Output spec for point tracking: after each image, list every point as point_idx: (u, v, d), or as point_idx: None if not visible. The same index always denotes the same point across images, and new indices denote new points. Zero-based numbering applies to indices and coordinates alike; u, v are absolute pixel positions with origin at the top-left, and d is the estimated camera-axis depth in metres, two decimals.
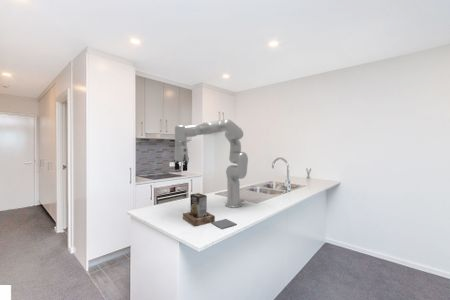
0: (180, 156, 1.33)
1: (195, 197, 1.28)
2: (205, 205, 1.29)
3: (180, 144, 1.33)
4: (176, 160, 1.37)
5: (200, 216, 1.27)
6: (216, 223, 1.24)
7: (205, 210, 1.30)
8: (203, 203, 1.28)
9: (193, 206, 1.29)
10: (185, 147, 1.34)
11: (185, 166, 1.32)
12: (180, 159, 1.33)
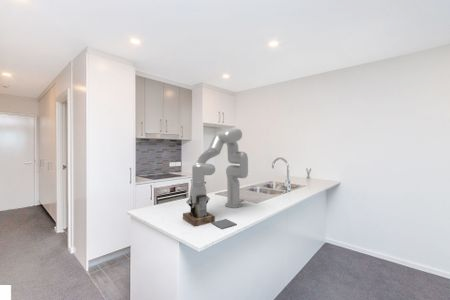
0: None
1: None
2: (205, 205, 1.29)
3: (204, 184, 1.31)
4: None
5: (200, 216, 1.27)
6: (216, 223, 1.24)
7: (205, 210, 1.30)
8: (203, 203, 1.28)
9: None
10: None
11: None
12: None
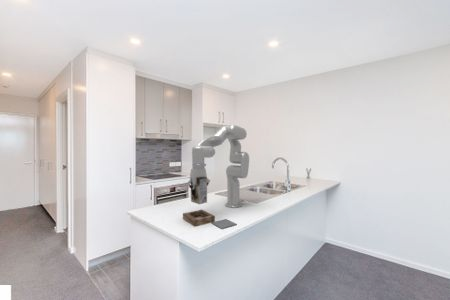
0: None
1: None
2: (205, 187, 1.30)
3: (204, 166, 1.31)
4: None
5: (201, 197, 1.27)
6: (216, 223, 1.24)
7: (206, 192, 1.30)
8: (203, 185, 1.28)
9: (194, 188, 1.29)
10: None
11: None
12: None
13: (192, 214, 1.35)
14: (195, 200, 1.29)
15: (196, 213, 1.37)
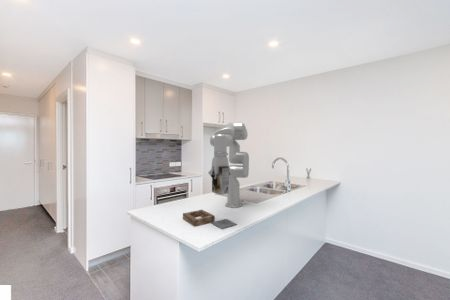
0: None
1: None
2: (228, 176, 1.23)
3: (226, 155, 1.25)
4: None
5: (223, 187, 1.20)
6: (216, 223, 1.24)
7: (228, 182, 1.23)
8: (225, 174, 1.22)
9: None
10: None
11: None
12: None
13: (192, 214, 1.35)
14: (216, 191, 1.23)
15: (196, 213, 1.37)
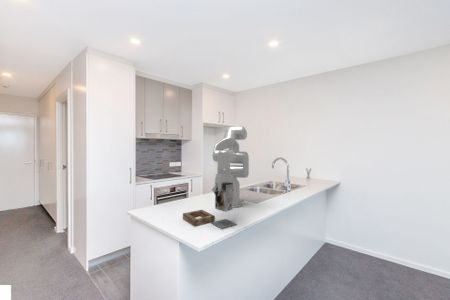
0: None
1: None
2: (231, 193, 1.22)
3: (229, 171, 1.24)
4: None
5: (226, 205, 1.20)
6: (216, 223, 1.24)
7: (231, 199, 1.22)
8: (229, 191, 1.21)
9: None
10: None
11: None
12: None
13: (192, 214, 1.35)
14: (220, 207, 1.22)
15: (196, 213, 1.37)
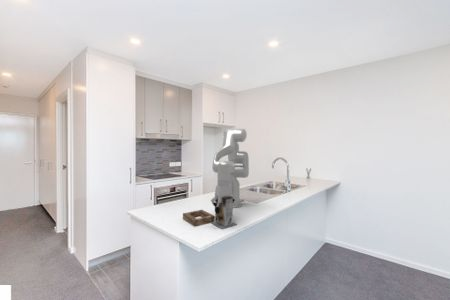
0: (230, 196, 1.24)
1: None
2: (231, 207, 1.22)
3: (230, 183, 1.24)
4: None
5: (226, 219, 1.20)
6: (216, 223, 1.24)
7: (231, 213, 1.23)
8: (229, 205, 1.21)
9: (219, 208, 1.23)
10: None
11: None
12: None
13: (192, 214, 1.35)
14: (220, 221, 1.22)
15: (196, 213, 1.37)
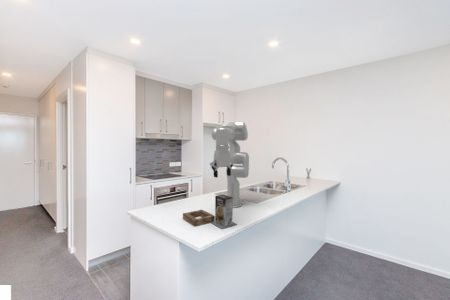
0: (228, 161, 1.27)
1: (221, 199, 1.21)
2: (231, 207, 1.22)
3: None
4: (221, 166, 1.24)
5: (226, 219, 1.20)
6: (216, 223, 1.24)
7: (231, 213, 1.23)
8: (229, 205, 1.21)
9: (219, 208, 1.22)
10: None
11: None
12: (228, 164, 1.27)
13: (192, 214, 1.35)
14: (220, 221, 1.22)
15: (196, 213, 1.37)
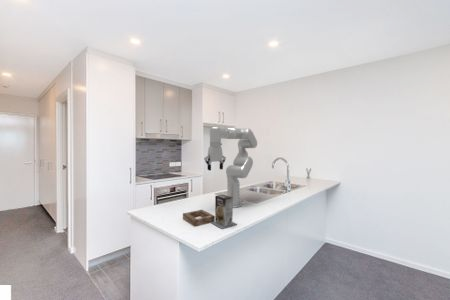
0: (220, 156, 1.44)
1: (221, 199, 1.21)
2: (231, 207, 1.22)
3: (220, 145, 1.44)
4: (214, 160, 1.41)
5: (226, 219, 1.20)
6: (216, 223, 1.24)
7: (231, 213, 1.23)
8: (229, 205, 1.21)
9: (219, 208, 1.22)
10: None
11: None
12: (220, 159, 1.44)
13: (192, 214, 1.35)
14: (220, 221, 1.22)
15: (196, 213, 1.37)
